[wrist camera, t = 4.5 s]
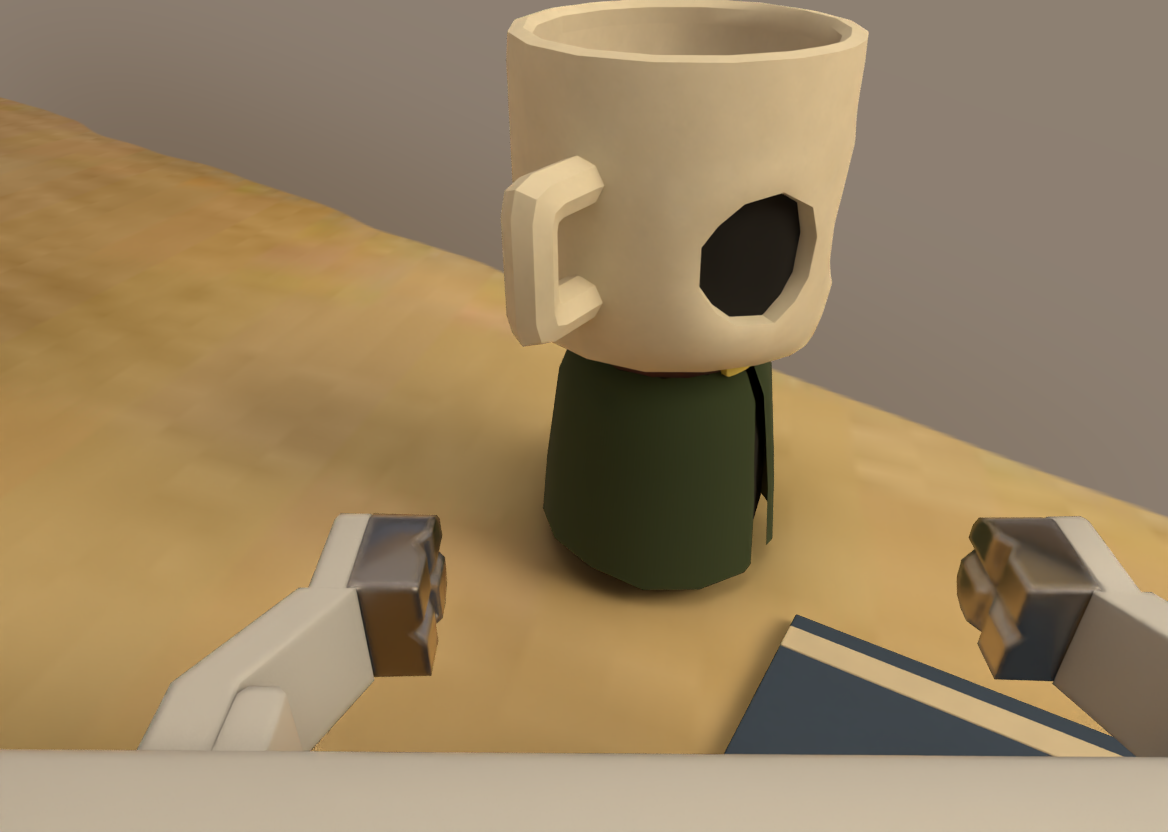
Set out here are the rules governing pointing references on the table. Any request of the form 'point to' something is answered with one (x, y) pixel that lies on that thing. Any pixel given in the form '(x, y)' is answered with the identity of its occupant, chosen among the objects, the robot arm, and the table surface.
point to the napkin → (893, 708)
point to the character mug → (671, 258)
